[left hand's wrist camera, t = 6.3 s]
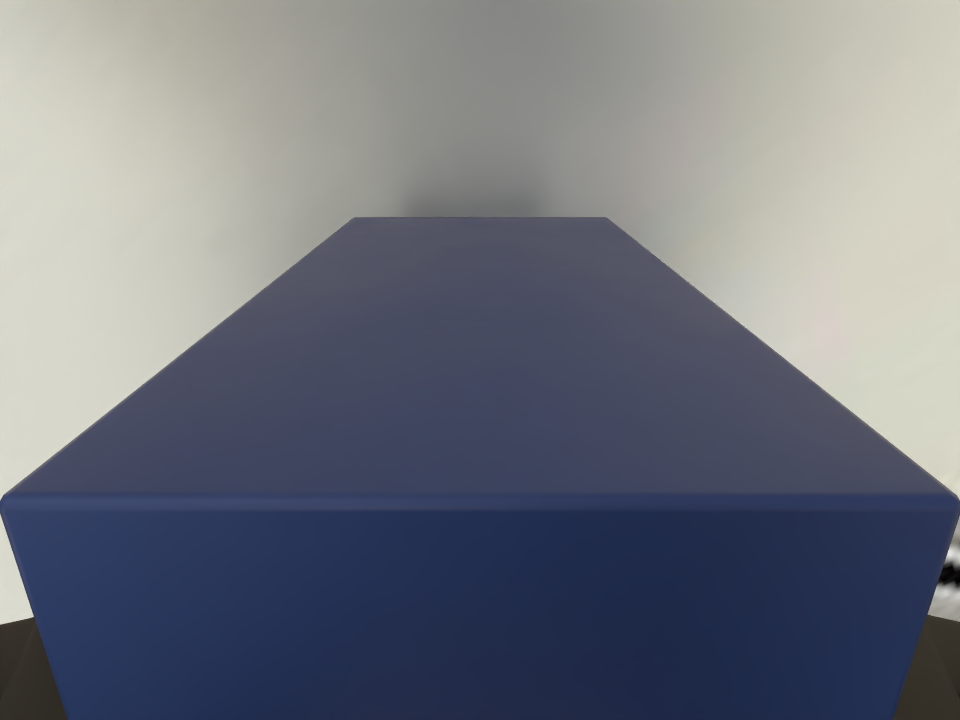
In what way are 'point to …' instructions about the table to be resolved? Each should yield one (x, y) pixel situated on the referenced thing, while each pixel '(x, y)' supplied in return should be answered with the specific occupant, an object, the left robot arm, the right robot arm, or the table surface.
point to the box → (480, 504)
